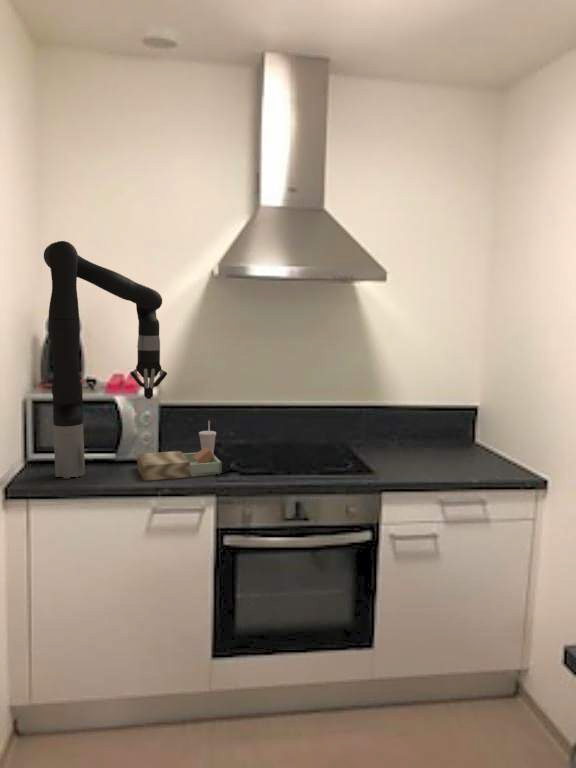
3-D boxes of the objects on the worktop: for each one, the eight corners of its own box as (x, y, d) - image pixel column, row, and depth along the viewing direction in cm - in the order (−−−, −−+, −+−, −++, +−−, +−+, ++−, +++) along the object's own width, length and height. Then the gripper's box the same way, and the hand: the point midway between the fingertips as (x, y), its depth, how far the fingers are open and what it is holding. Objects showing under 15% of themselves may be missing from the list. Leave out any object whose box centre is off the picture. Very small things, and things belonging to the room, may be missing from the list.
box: (190, 476, 213) (190, 465, 212) (181, 464, 228) (181, 453, 227) (221, 474, 216) (221, 462, 216) (210, 462, 231) (210, 451, 231)
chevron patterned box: (143, 480, 208) (143, 465, 207) (137, 468, 222) (137, 454, 222) (190, 476, 213) (189, 462, 212) (180, 464, 228) (180, 450, 227)
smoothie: (213, 461, 233) (213, 422, 231) (196, 459, 234) (196, 422, 232) (218, 456, 239) (218, 419, 237) (202, 455, 241) (202, 418, 239)
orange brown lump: (209, 450, 221) (214, 456, 222) (205, 446, 226) (210, 452, 228) (197, 460, 220) (202, 466, 221) (193, 456, 225) (198, 463, 226)
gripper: (130, 349, 216) (129, 400, 218) (169, 349, 220) (169, 400, 222) (128, 347, 223) (127, 397, 225) (166, 347, 227) (166, 396, 229)
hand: (148, 398), depth 224 cm, fingers closed
